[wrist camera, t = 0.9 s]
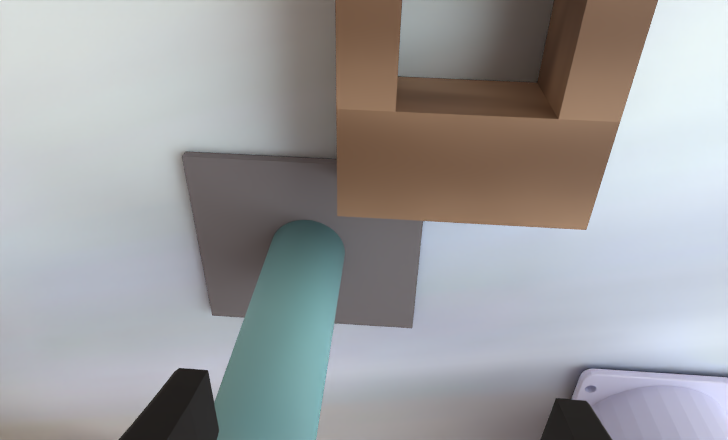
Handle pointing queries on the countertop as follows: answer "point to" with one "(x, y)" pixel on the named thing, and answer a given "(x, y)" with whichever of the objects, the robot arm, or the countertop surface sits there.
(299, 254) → the peg
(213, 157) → the mat
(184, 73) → the countertop surface
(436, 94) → the hole block
